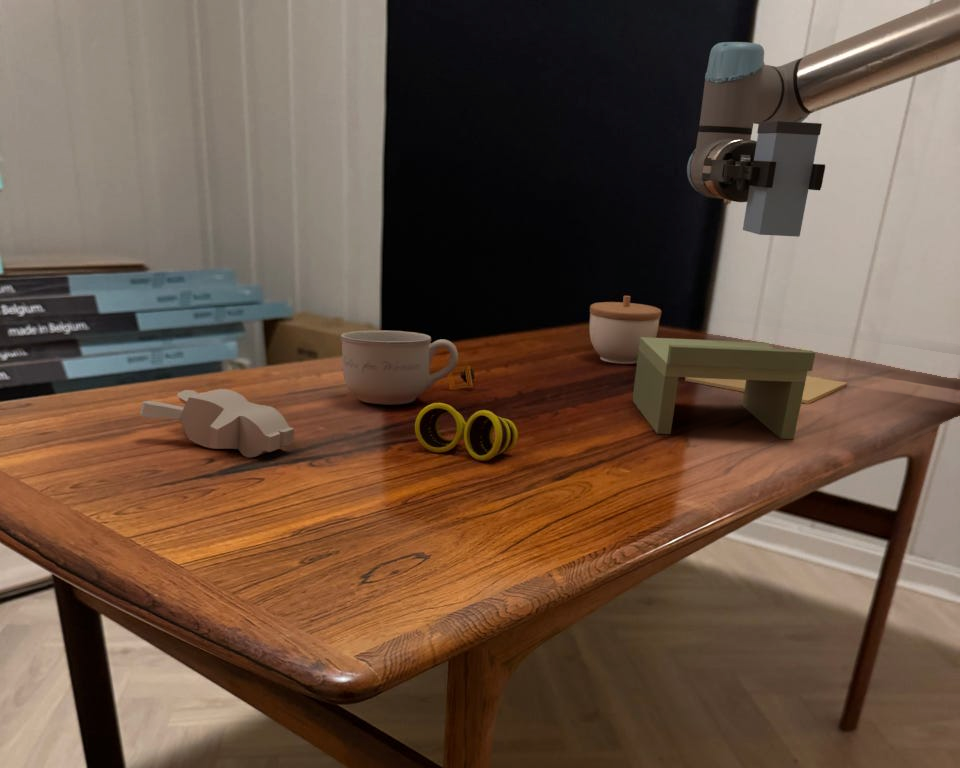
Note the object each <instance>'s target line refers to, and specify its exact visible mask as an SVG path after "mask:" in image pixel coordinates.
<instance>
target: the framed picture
mask: <svg viewBox="0 0 960 768" xmlns="http://www.w3.org/2000/svg"><path fill="white" fill-rule="evenodd" d="M459 371H460V374H459V375H460V377H459V378H460V379H462V381H463V383H462V384H461V383H458V384H456V385H455V382H454V376H453V372H454V373H458V372H459ZM475 378H476V376H475V373H474V370H473V369H472V368H471V367H470V365H466V366H457V367H455V368H454V369H453V370H452V371H451V372H450V373H449V374H448V375H447V381H448V387H449V390H456V389H457V390H458V389H461V388H472V387H474V386H475V385H474V383H475V382H476V383H477V381H478V380H475Z"/></svg>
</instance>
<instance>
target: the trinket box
mask: <svg viewBox="0 0 960 768" xmlns="http://www.w3.org/2000/svg"><path fill="white" fill-rule="evenodd" d="M661 316H662V310H661V308H658V307H656V306H653V305H648V304H643V303H634V302H631V295H623V301H622V302H621V301H604V302H602V301H601V302H594V303H592V304H590V306H589V326H588V327H589V329H588V330H589V336H590V337H589V339H590V342H591V345H592V347H593V349H594V351H595V352H596V353H597V355H598V356H599V359H600V360H601V361H603V362H607V363H613V364H621V365H632V364H637V359H638V351H639V342H640V337H649V338H657V335H658V331H659V327H660V319H661Z"/></svg>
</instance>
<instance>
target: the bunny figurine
mask: <svg viewBox="0 0 960 768" xmlns="http://www.w3.org/2000/svg"><path fill="white" fill-rule="evenodd" d="M176 395H177V397H178V399H179V401H180V402H181V403H182V404H184V405H183V406H180V405H177V404H171V403H166V402H161V401H155V400H154V401H153V400H143V401H142V403H141V407H140V411H139V415H140V416H141V417H145V418H152V419H154V418H155V419H166V420H167V419H168V420H178V421H179V422H180V424H181V427H182V430H183V431H184V433H185V435H186V437H187V439H188V440H189V441H191V442H193V443H194V444H196V445H199V446H201V447H204V448H207V449H212V450H214V449H216V450H218V449H219V450H221V449H222V450H224V449H225V450H227V449H229V450H230V449H233V450H238V451H239V453H240V454H241V455H242V456H244V457H245V458H249V459H251V458H255V457H259V456H261V455H265V454H266V453H271V452H274V451H277V450H279V449H280V448H283V447H284V448H285V447H287V446H290V445H293V444H294V441H295V428H294V427H291V426H290V425H289V423H288V422H287V420H286V419H285V416H283V415H282V414H281V413H280V412H279V411H278V409H277V408H275V407H273V406H270V405H264V404H259V403H254V402H251V401H248V400H247V398H246V397H244V395H243V394H240V393H239V392H237V391H234V390H231V389H227V388H226V389H225V388H218V389H213V390H209V391H205V392H200V393H198V392H197V391H196V390H193V389H186V390H181V391H179V392H178V393H177V394H176Z"/></svg>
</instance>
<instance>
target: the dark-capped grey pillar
mask: <svg viewBox="0 0 960 768" xmlns="http://www.w3.org/2000/svg"><path fill="white" fill-rule="evenodd" d="M757 125H758V126H757V131H756V134H757V139H756V141H757V144H756V150H755V156H754V161H771V162H776V168H775V174H774V180H773V186H772V188H766V187H758V186H750V187H749V193H748V200H747V202H746V207H745V212H744V219H743V223H742V224H743V227H742V231H745V232H749V233H753V234H755V235H759V236H779V237H800V236H801V232H802V227H803V220H804V216H805V211H806V205H807V199H808V193H809V184H810V178H811V173H812V168H813V164H814V163H813V162H815V158H816V151H817V147H818V146H817V145H818V141H819V136H820V135H821V131H822V126H823V123H820V122H805V121H802V122H789V121H770V122H759V124H757Z"/></svg>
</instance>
